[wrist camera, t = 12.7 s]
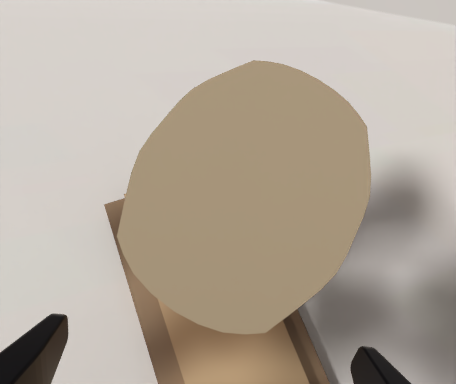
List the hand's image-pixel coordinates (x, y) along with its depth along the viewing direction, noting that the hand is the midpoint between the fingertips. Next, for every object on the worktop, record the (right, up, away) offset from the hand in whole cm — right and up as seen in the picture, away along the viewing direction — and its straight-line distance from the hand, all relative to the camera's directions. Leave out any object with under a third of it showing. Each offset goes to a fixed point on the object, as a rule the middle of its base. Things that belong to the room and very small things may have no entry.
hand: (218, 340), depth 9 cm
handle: (-1, 0, +11) cm, 11 cm away
